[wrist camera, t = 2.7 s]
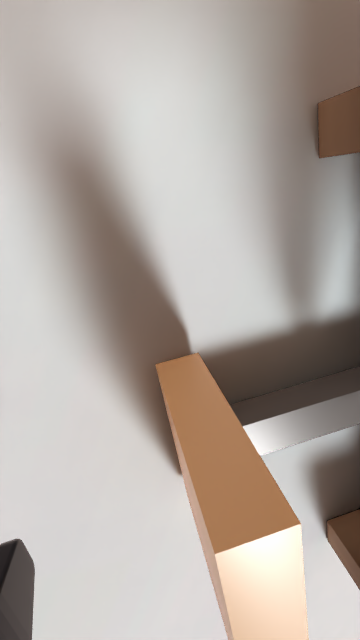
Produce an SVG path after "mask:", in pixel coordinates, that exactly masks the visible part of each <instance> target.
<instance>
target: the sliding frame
mask: <svg viewBox="0 0 360 640" xmlns="http://www.w3.org/2000/svg"><path fill="white" fill-rule="evenodd" d="M155 365H156V369H157V374H158V378H159V382H160V386H161V390H162V394H163V398H164V402H165V406H166V410H167V414H168V418H169V422H170V426H171V430H172V435H173V439H174V443H175V447H176V451H177V455H178V459H179V463H180V467H181V471H182V475H183V479H184V483H185V487H186V492H187V496H188V499H189V503H190V506H191V510H192V513H193V517H194V520H195V524H196V527H197V531H198V534H199V538H200V541H201V545H202V548H203V552H204V555H205V559H206V562H207V566H208V570H209V573H210V577H211V580H212V584H213V587H214V591H215V594H216V598H217V601H218V605H219V608H220V612H221V615H222V619H223V622H224V626H225V629H226V633H227V636H228V640H309V638H308V623H307V608H306V593H305V578H304V563H303V548H302V533H301V523H300V521H299V520H298V518H297V516H296V515H295V513H294V511H293V510H292V508H291V506H290V505H289V503H288V502H287V500H286V498H285V497H284V495H283V493H282V492H281V490H280V488H279V487H278V485H277V483H276V482H275V480H274V478H273V477H272V475H271V473H270V472H269V470H268V468H267V467H266V465H265V463H264V462H263V460H262V458H261V457H260V456H262V455H265V454H268V453H271V452H274V451H277V450H280V449H283V448H286V447H290V446H293V445H296V444H299V443H302V442H305V441H308V440H311V439H314V438H317V437H321V436H324V435H327V434H330V433H333V432H336V431H339V430H342V429H345V428H348V427H352V426H355V425H358V424H360V366H358V367H355V368H352V369H348V370H345V371H342V372H338V373H335V374H332V375H328V376H325V377H322V378H318V379H315V380H311V381H308V382H305V383H301V384H298V385H295V386H291V387H288V388H285V389H281V390H278V391H275V392H271V393H268V394H264V395H261V396H258V397H254V398H251V399H248V400H244V401H241V402H238V403H234V404H231V405H229V403H228V402H227V400H226V398H225V397H224V395H223V393H222V392H221V390H220V388H219V387H218V385H217V383H216V382H215V380H214V378H213V377H212V375H211V373H210V372H209V370H208V368H207V367H206V365H205V363H204V362H203V360H202V358H201V357H200V355H199V353H195V354H191V355H188V356H184V357H180V358H177V359H173V360H169V361H166V362H162V363H158V364H155Z"/></svg>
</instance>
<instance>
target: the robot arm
mask: <svg viewBox="0 0 360 640" xmlns="http://www.w3.org/2000/svg"><path fill="white" fill-rule="evenodd" d="M34 577H35V568H34V563H33V560H32V558H31V556H30V554H29V552H28V551H27V549H26V547H25V545H24V543H23V542H22V540H20V539H14V540H11V541H8V542H5V543H2V544H1V545H0V640H32V624H33V600H34Z"/></svg>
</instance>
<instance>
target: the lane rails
mask: <svg viewBox="0 0 360 640" xmlns="http://www.w3.org/2000/svg"><path fill="white" fill-rule="evenodd" d="M318 125H319V158H325V157H332V156H338V155H345V154H352V153H358V152H360V86H359V87H357V88H354V89H352V90H349V91H347V92H344V93H342V94H339V95H337V96H334V97H332V98H329V99H327V100H325V101H322V102H320V103H318ZM327 533H328V542H329V543H330V545H331V546H332V548H333V549H334V551H335V553H336V554H337V556H338V557H339V559H340V560H341V562H342V563H343V565H344V566H345V568H346V569H347V571H348V573H349V574H350V576H351V577H352V579H353V580H354V582H355V583H356V585H357V586H358V588H359V590H360V509H359V510H356V511H353V512H351V513H348V514H345V515H342V516H340V517H337V518H334V519H331V520H328V521H327Z"/></svg>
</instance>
